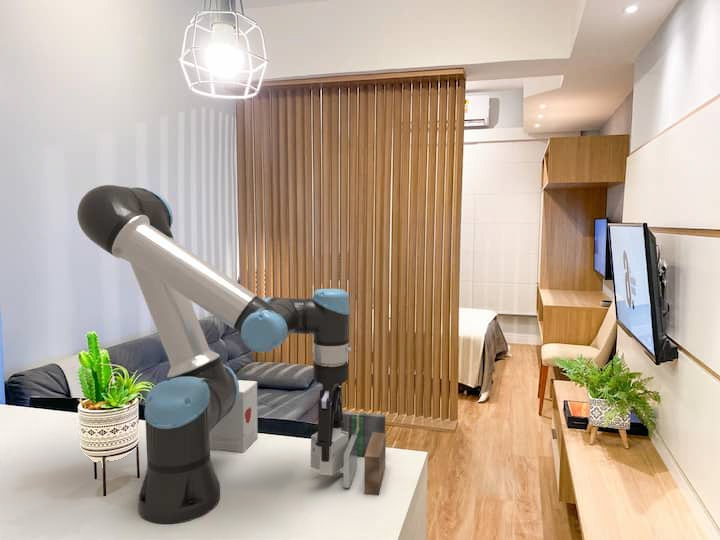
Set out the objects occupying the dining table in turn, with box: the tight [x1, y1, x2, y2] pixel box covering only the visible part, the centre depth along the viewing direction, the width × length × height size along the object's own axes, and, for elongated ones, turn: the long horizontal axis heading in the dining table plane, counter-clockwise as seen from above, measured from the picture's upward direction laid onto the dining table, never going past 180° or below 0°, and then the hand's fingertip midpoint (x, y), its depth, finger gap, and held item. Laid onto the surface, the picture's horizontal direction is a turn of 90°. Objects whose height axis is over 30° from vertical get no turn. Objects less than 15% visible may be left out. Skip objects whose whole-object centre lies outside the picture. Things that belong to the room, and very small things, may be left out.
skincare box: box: [310, 429, 349, 476], centre depth 112 cm, size 6×6×7 cm
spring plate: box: [343, 414, 360, 489], centre depth 113 cm, size 1×15×10 cm, turn 171°
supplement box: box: [210, 379, 258, 453], centre depth 127 cm, size 9×9×15 cm
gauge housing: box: [339, 411, 387, 496], centre depth 114 cm, size 14×18×10 cm
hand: (330, 464), depth 112 cm, fingers closed on skincare box, 7 cm apart
